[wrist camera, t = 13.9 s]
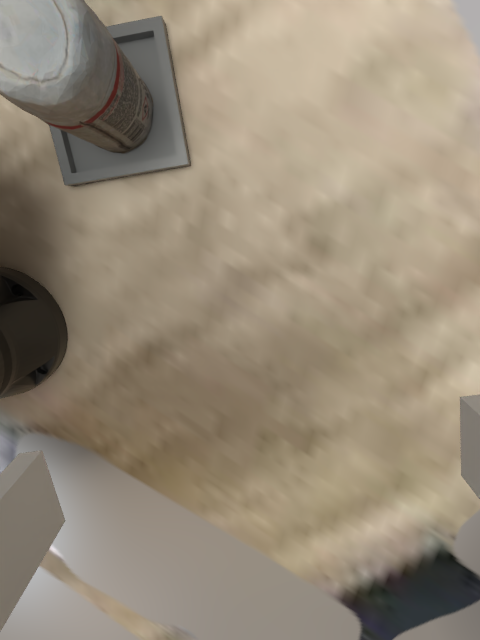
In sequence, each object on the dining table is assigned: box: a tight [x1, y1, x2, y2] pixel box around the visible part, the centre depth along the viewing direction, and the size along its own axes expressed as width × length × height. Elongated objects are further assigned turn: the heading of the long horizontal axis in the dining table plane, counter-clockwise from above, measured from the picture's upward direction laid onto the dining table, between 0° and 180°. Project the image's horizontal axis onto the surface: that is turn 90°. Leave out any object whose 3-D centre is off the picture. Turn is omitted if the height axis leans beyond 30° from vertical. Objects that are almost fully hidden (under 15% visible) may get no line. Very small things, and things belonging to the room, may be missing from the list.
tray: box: [49, 16, 191, 186], centre depth 41 cm, size 13×13×2 cm
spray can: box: [0, 0, 153, 153], centre depth 32 cm, size 8×8×20 cm
